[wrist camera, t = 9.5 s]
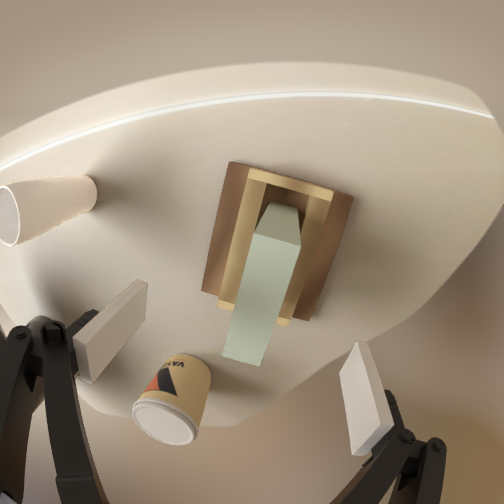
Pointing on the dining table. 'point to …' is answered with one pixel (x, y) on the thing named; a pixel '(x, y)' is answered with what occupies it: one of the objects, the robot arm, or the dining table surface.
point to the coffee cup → (174, 400)
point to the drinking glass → (42, 205)
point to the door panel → (263, 284)
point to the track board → (285, 199)
